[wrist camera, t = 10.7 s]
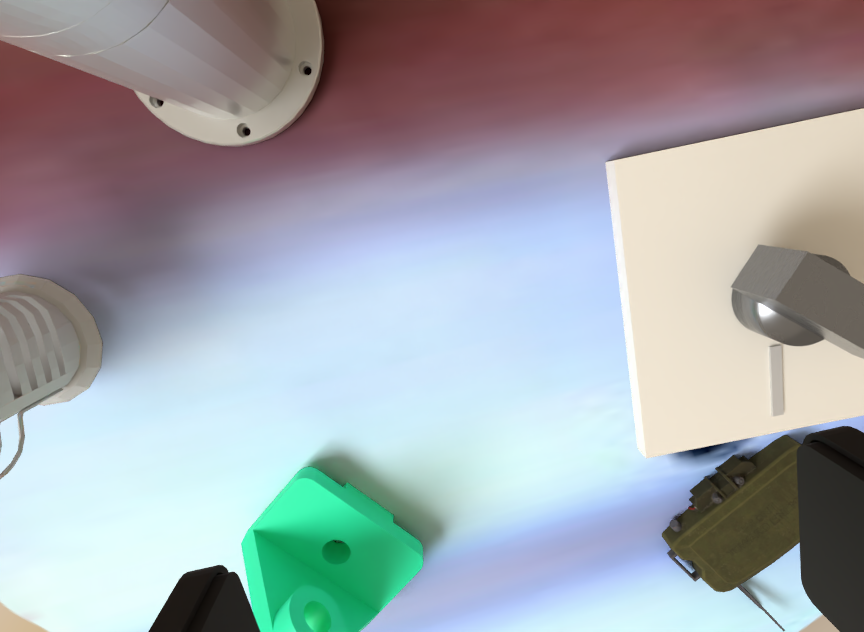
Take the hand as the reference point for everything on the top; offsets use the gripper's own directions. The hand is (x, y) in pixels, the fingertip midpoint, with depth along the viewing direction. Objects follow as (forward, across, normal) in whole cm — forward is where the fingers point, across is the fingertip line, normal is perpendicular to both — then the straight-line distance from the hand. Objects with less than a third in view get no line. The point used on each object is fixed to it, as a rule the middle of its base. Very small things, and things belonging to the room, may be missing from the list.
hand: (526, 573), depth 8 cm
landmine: (+28, -22, +27) cm, 45 cm away
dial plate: (+28, -23, +6) cm, 36 cm away
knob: (+26, -24, +7) cm, 36 cm away
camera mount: (+28, +12, +18) cm, 36 cm away
